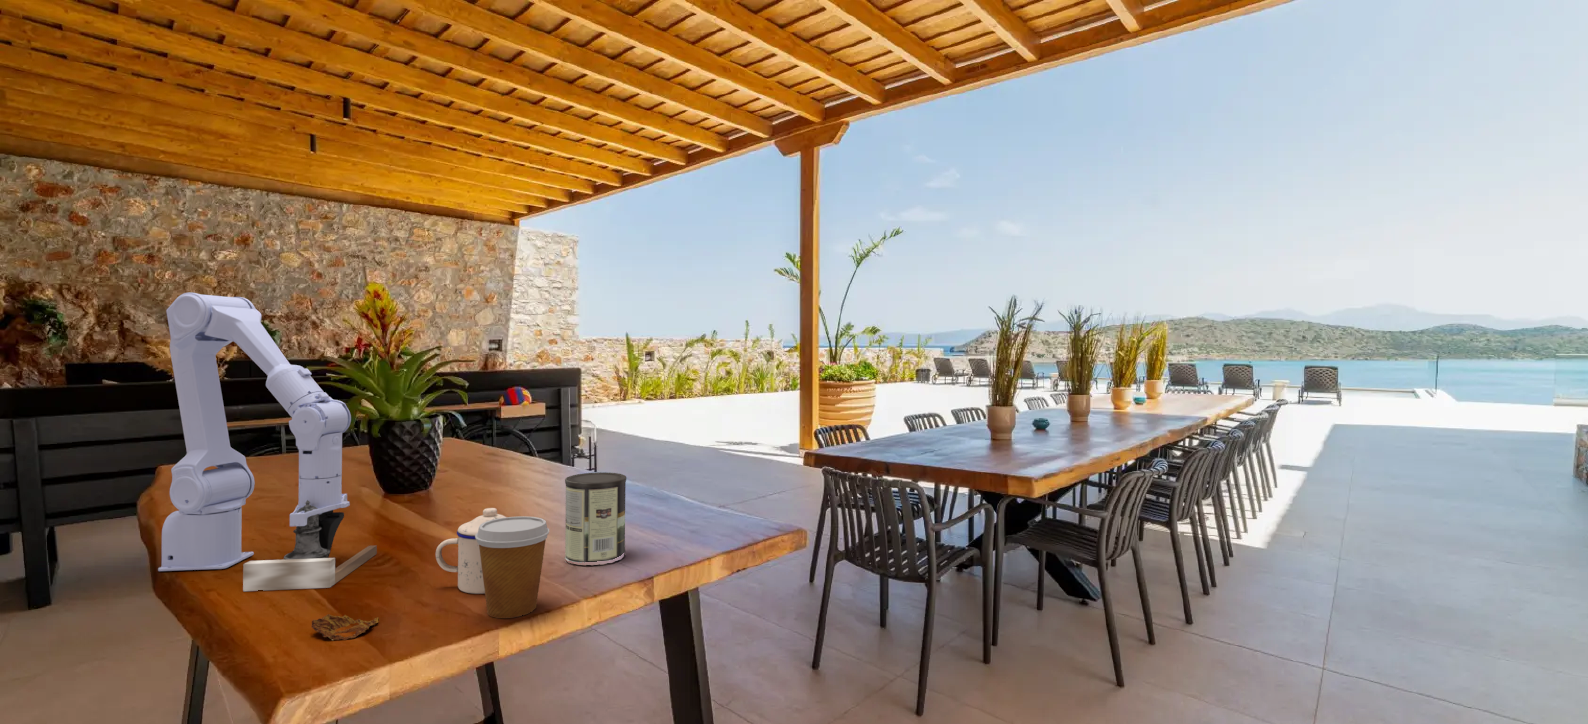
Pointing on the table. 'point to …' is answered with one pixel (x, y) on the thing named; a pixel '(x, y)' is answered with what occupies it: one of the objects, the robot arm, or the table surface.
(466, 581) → the teacup with lid
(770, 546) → the table surface
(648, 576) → the table surface
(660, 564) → the table surface
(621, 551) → the coffee can
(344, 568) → the guide channel
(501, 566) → the disposable coffee cup
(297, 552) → the grey stone finial
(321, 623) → the leaf
